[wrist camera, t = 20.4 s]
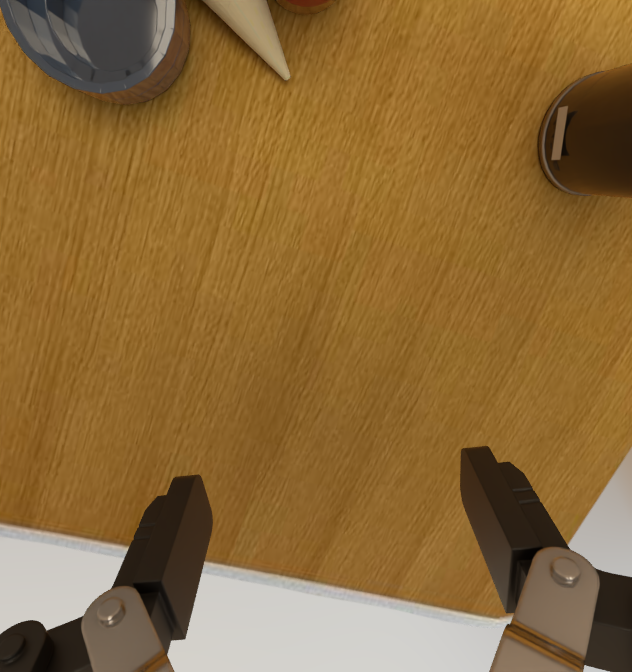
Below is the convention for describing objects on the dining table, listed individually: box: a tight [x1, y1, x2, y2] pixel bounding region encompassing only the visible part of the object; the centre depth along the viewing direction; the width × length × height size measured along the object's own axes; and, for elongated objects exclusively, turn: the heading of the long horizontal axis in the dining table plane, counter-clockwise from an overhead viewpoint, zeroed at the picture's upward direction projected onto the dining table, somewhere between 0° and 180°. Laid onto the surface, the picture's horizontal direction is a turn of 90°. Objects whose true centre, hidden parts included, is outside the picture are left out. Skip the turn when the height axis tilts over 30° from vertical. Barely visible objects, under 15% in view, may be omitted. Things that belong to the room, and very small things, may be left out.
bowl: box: [0, 0, 190, 105], centre depth 30 cm, size 10×10×6 cm
